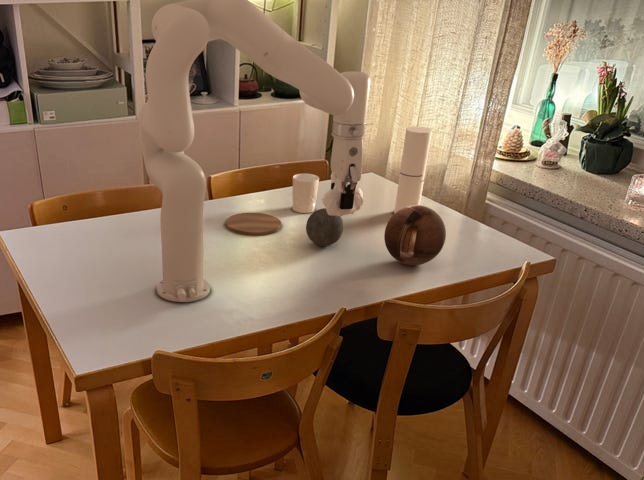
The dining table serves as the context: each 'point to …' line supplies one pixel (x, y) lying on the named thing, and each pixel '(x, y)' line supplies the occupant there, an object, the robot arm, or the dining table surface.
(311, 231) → the decorative ball
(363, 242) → the dining table surface
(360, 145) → the robot arm
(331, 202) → the bust
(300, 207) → the white cup
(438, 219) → the wooden sphere
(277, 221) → the round wooden disc
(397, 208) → the cylindrical container
